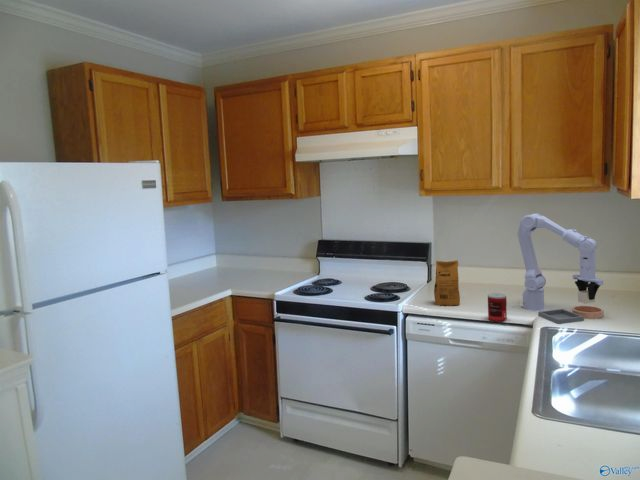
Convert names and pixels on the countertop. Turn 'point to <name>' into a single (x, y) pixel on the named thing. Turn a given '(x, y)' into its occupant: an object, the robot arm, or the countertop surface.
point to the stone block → (584, 297)
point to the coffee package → (447, 283)
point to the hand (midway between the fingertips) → (587, 298)
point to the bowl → (588, 312)
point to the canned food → (497, 307)
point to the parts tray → (561, 316)
